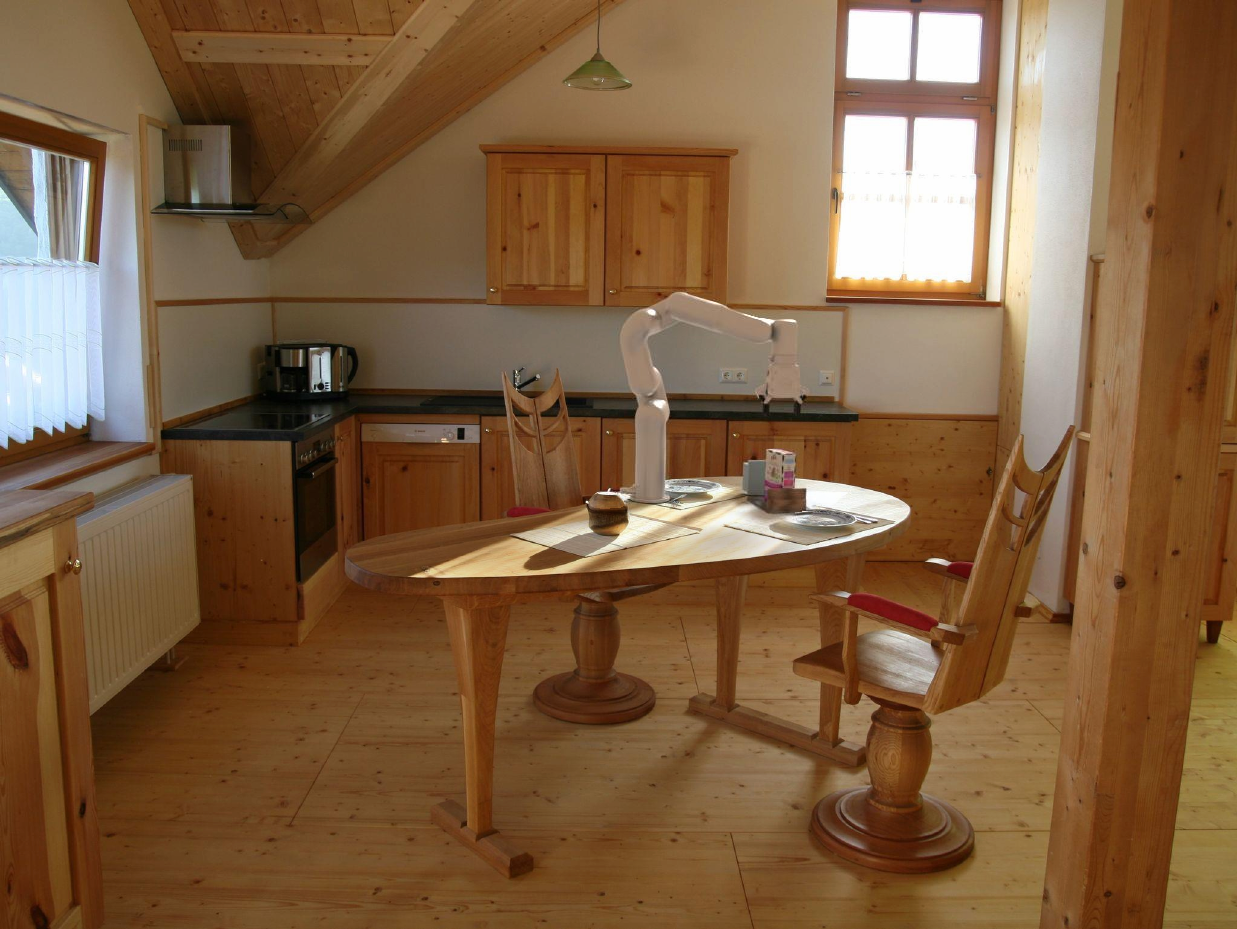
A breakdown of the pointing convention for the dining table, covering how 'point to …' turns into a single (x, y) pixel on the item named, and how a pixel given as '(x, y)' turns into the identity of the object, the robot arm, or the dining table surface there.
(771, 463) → the candy bar box
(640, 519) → the dining table surface
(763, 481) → the block
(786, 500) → the book rack
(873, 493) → the dining table surface
